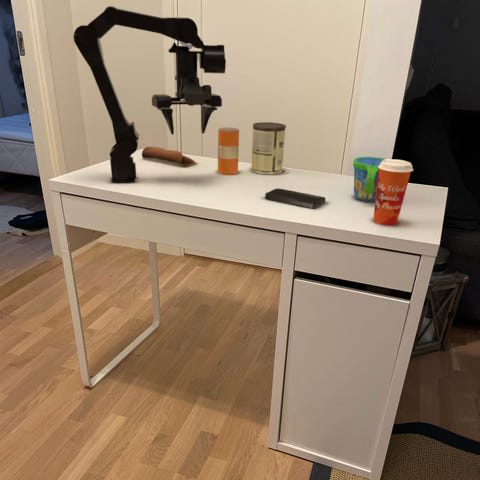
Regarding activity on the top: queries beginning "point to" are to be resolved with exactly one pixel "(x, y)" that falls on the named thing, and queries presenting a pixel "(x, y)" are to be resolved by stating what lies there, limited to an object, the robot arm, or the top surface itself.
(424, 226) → the top surface
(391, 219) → the paper cup
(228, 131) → the juice can
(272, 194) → the phone
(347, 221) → the top surface
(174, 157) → the brown elongated rounded bar
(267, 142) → the coffee can
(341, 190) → the top surface
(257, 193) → the top surface
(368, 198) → the snack cup
